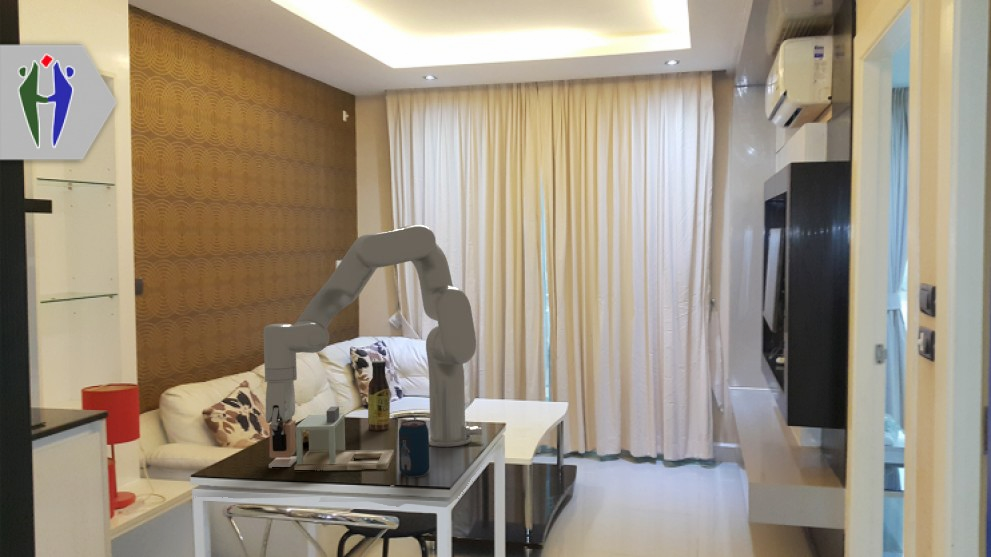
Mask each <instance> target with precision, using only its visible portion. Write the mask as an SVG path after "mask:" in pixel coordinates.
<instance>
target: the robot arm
mask: <svg viewBox="0 0 991 557" xmlns="http://www.w3.org/2000/svg"><path fill="white" fill-rule="evenodd" d="M408 262H411V263H412V265H413V266H414V268H415V270H416V273H417V277H418V280H419V281H418V282H419V286H420V293H421V298H422V306H423V310H424V313H425V315H426V316H427V317H428V318H430V319H431V320H432V321H433V320H434V321H436V322H437V326H435V327H433V328H432V329H431V330H430V331H429V333H428V334H427V337H426V340H425V352H426V359H427V365H428V382H429V384H428V386H429V387H428V388H429V390H428V391H429V393H428V394H429V396H428V397H429V446H433V447H438V448H439V447H441V448H442V447H443V448H444V447H446V448H447V447H449V448H450V447H459V446H463V445H466V444H469V443H470V442H471V441H472V436H473V435H474V436H482V434H483V428H482V427H478V426H468V424H467V423H468V422H467V421H466V407H465V406H466V404H465V403H466V402H465V401H466V400H465V394H466V393H465V392H466V391H465V370H464V364H466V363H468V362H469V361H471V360H472V358H474V356H475V353H476V350H477V339H476V331H475V324H474V317H473V312H472V306H471V303H470V300H469V298H468V296H467V294H466V293H465V292H464V291H463V290H461V289H460V288H458V287H455V286H454V285H453V281H452V275H451V272H450V268H449V267H450V266H449V263H448V260H447V257H446V254H445V253H444V251H443V250H442V248H441V247H440V245H439V244H438V243H437V241H436V236H435V234H434V232H433V230H431V228H430V227H428V226H426V225H424V224H423V225H422V224H413V225H403V226H401V227H399V228H398V229H395V230H390V231H385V232H378V233H369V234H363V235H361V236H358V237H357V238H356V239H355V241H354V242H353V244H352V245H351V246H350V248H349V249H348V250H347V252H346V253H345V255H344V257H343V258H342V260H341V261H340V262H339V264H338V266H337V267H336V268H335V270H334V271H333V273H332V274H331V276H330V277H329V279H328V280H326V282H325V283H324V284H323V285H322V287H321V288H320V289H319V291H317V293H316V294H315V295H314V297H312V299H311V300H310V301H309V302H308V304H307V305H306V307H305V309H304V310H303V311H302V313H301V314H300V316H299V317H298V318H297V320H296V322H295V323H294V325H293V324H290V323H272V324H268V325H266V326H265V327H264V329H263V358H264V360H263V362H264V382H265V383H266V391H265V422H266V423H267V424H271V427H272V441H273V451H286V449H287V447H286V434H285V422H286V421H287V420H293V416H295V414H296V395H295V392H296V391H295V383H294V381H296V380H297V379H298V377H297V373H298V372H297V370H298V369H297V353H309V354H314V353H319V352H321V351H323V350H324V349H326V347H328V345H329V342H330V333H329V331H328V327H329V325H330V324H331V322H332V320H333V319H334V318H335V317H336V316H337V315H338V314H339V312H340V311H342V310H344V309H345V308H346V307H347V306H349V305H350V304H352V303H353V302H355V300H357V298H358V297H359V296H360V295H361V293H362V292H363V289H365V286H366V285H367V283H368V282H369V281H370V279H371V278H372V276H373V275H374V273H375V272H376V270H377V269H379V268H385V267H389V266H395V265H399V264H404V263H408ZM278 420H282V422H278ZM278 424H282V427H280V425H278Z"/></svg>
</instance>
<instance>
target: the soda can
mask: <svg viewBox="0 0 991 557" xmlns="http://www.w3.org/2000/svg"><path fill="white" fill-rule="evenodd" d="M429 435H430V428H428V425H427V421H425V420H421V419H420V420H419V419H410V420H405V421H402V422H401V423H400V427H399V429H398V459H399V462H398V463H399V470H400V473H401V474H402V476H403V477H405V476H406V478H420V477H421V478H422V477H425V476H426V475H427V474H428V472H429V470H430V445H429Z"/></svg>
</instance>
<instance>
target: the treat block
mask: <svg viewBox="0 0 991 557" xmlns="http://www.w3.org/2000/svg"><path fill="white" fill-rule="evenodd" d="M278 422H282V420H280V419H278ZM278 425H280V427H282V424H278ZM268 426H269V432H268V434H269V441H268V442H269V458H272V459H275V458H290V457H291V456H294V455H295V454H296V453H297V452H296V434H295V427H296V420H295V419H292V420H287V421H286V422H285V434H286V447H287V449H286V451H273V441H272V427H271V423H269V425H268Z"/></svg>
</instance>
